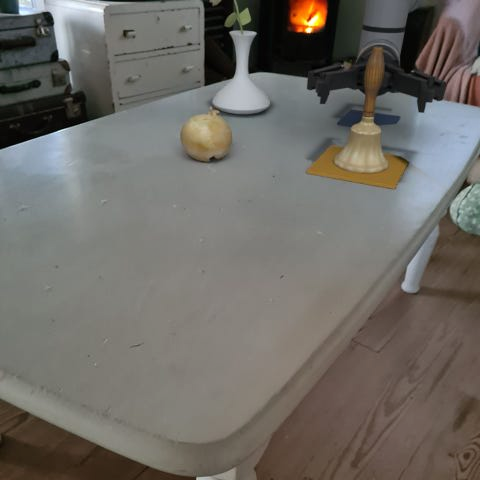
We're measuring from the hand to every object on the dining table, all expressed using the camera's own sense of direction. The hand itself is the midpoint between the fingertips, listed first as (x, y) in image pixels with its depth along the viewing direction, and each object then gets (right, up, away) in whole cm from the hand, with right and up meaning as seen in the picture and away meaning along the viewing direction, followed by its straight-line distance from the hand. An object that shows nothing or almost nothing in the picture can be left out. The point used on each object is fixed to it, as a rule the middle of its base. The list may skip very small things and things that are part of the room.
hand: (372, 98), depth 71 cm
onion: (-24, -5, +10) cm, 26 cm away
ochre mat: (0, -7, +8) cm, 11 cm away
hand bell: (0, -7, +8) cm, 10 cm away
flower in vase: (-19, +10, +31) cm, 38 cm away
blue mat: (+6, +7, +28) cm, 29 cm away
